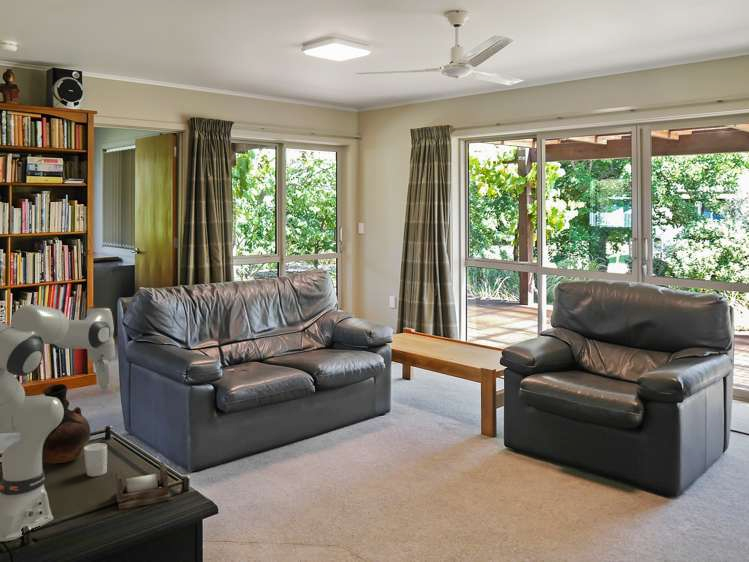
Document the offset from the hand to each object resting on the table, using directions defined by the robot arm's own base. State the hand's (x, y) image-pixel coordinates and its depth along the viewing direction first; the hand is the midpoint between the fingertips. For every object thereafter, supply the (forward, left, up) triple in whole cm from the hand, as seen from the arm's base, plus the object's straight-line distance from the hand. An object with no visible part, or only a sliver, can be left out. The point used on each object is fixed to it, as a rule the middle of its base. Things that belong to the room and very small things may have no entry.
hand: (103, 391), depth 240 cm
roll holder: (-10, -19, -33) cm, 39 cm away
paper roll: (-10, -19, -31) cm, 38 cm away
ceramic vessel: (+14, +29, -33) cm, 46 cm away
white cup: (+6, +9, -33) cm, 35 cm away
